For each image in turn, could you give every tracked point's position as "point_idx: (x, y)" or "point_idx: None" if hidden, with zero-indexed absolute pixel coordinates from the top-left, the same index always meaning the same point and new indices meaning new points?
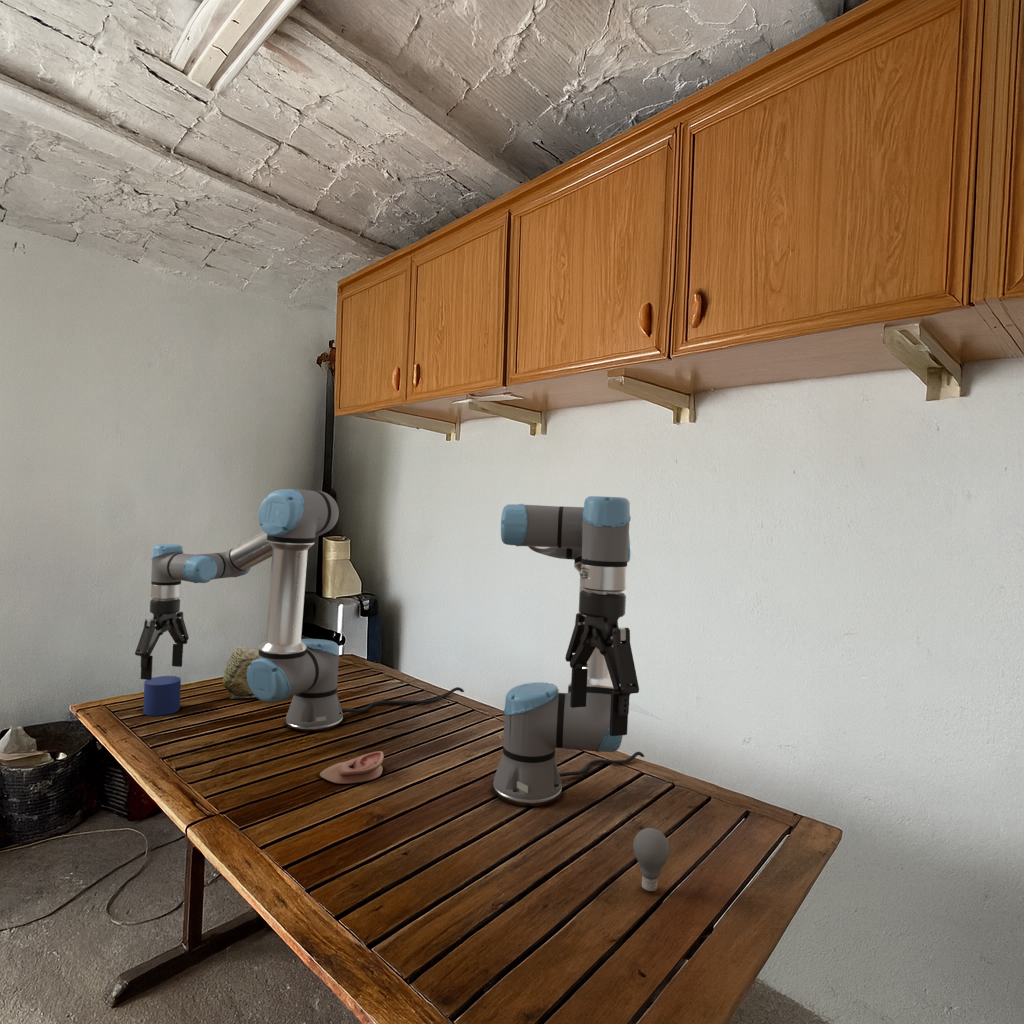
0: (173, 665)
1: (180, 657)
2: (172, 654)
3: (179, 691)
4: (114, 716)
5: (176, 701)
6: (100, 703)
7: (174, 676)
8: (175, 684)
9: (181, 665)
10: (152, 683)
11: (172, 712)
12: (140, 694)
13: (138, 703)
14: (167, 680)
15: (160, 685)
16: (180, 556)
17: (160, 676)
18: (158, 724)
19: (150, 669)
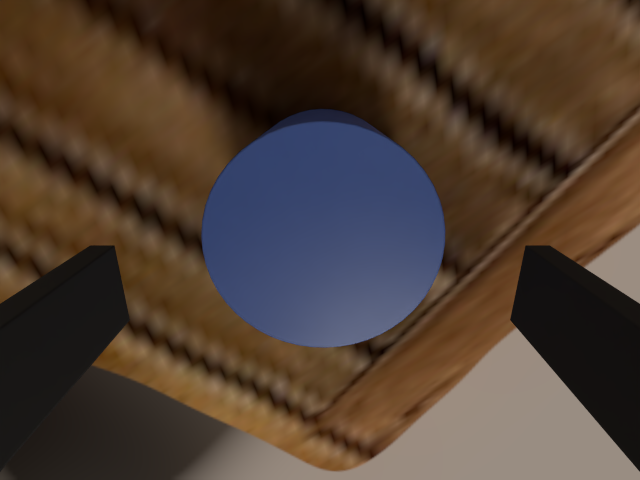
0: (122, 311)
1: (56, 292)
2: (64, 395)
3: (294, 119)
4: (428, 320)
5: (328, 112)
6: (301, 441)
7: (209, 229)
8: (348, 122)
9: (94, 249)
10: (411, 266)
11: (351, 114)
12: (164, 388)
13: (264, 333)
14: (319, 214)
15: (434, 192)
16: None
17: (242, 314)
18: (514, 79)
19: (615, 288)
